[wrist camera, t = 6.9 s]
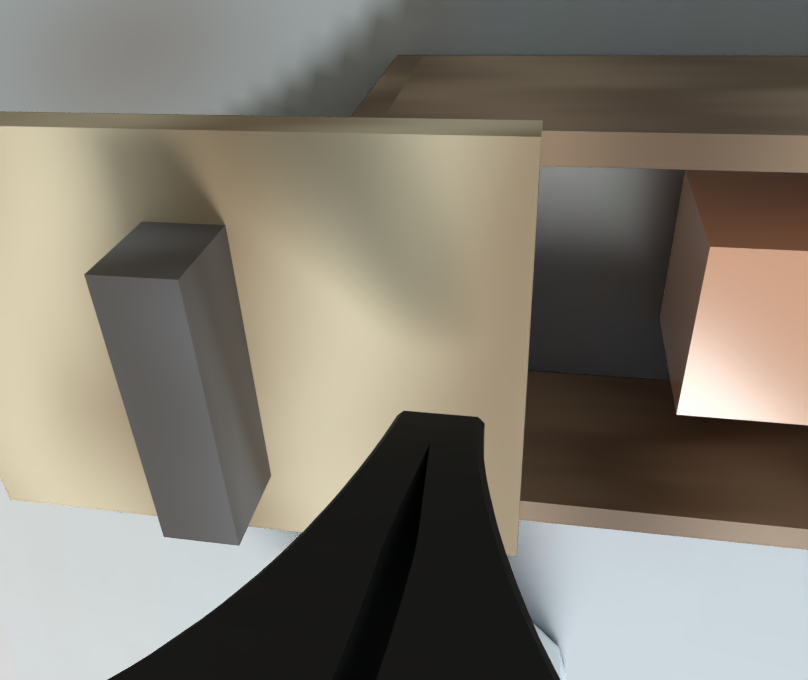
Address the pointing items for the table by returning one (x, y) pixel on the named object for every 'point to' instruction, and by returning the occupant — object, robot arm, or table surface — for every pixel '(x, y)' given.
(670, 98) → the box
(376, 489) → the robot arm
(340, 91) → the table surface
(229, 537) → the lid
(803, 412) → the cube
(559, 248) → the table surface
